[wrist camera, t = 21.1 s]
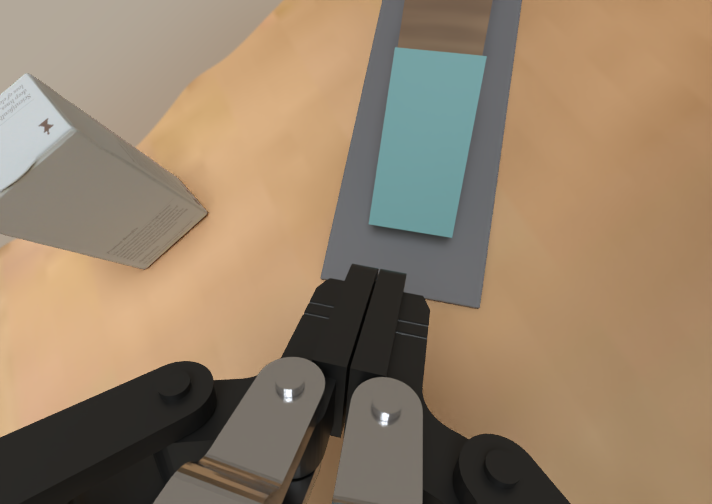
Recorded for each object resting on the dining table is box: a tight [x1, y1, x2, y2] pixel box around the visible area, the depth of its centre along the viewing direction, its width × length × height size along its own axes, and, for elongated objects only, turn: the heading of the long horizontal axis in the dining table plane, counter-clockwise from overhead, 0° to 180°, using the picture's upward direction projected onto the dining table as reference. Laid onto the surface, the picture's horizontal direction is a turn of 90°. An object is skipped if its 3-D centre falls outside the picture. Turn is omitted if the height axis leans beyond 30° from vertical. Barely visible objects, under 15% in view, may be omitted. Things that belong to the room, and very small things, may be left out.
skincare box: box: [0, 73, 207, 269], centre depth 22 cm, size 6×4×12 cm
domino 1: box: [398, 0, 493, 56], centre depth 25 cm, size 2×5×10 cm
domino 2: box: [369, 47, 487, 238], centre depth 24 cm, size 2×5×10 cm
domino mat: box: [321, 0, 522, 309], centre depth 28 cm, size 26×10×1 cm, turn 169°
